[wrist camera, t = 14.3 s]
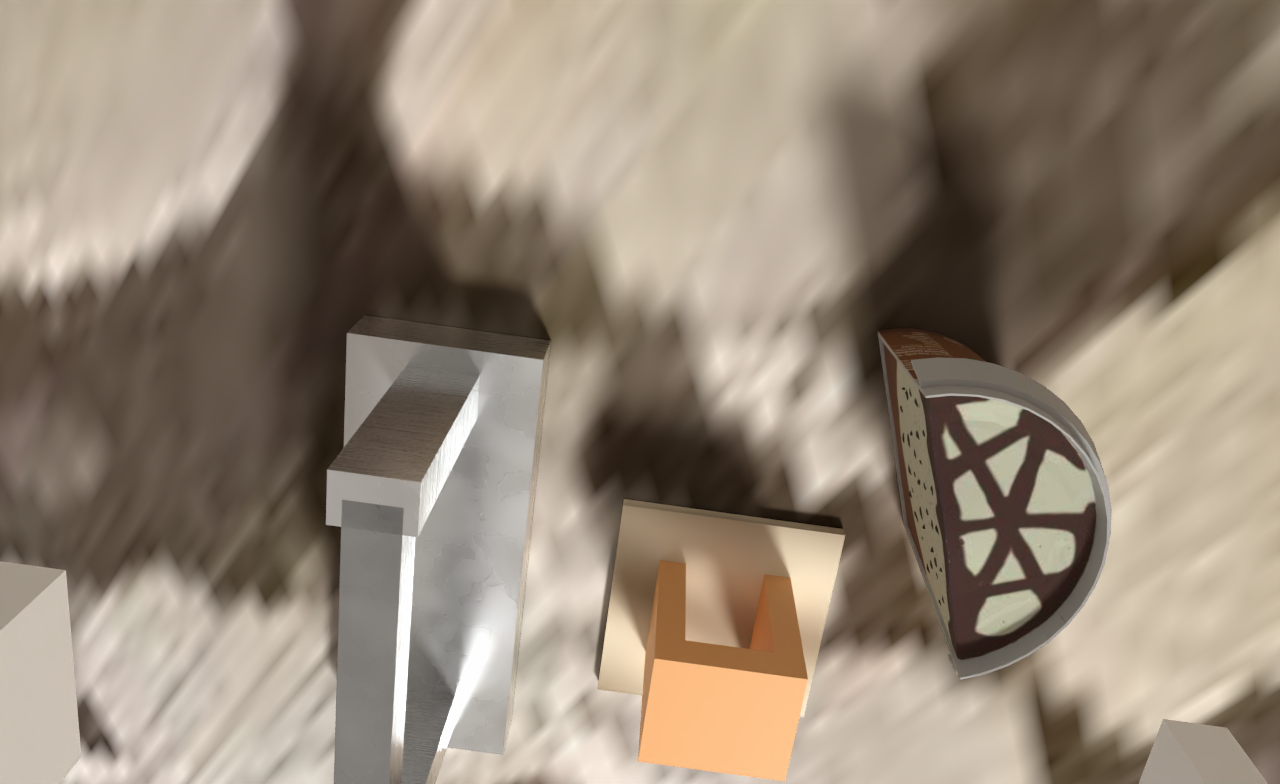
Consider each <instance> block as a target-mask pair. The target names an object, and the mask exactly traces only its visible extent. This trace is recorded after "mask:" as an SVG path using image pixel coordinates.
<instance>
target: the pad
mask: <svg viewBox="0 0 1280 784" xmlns="http://www.w3.org/2000/svg"><path fill="white" fill-rule="evenodd" d="M844 538H845V533H844V530H843V529H840V528H833V527H825V526H818V525H811V524H803V523H796V522H789V521H781V520H774V519H767V518H759V517H752V516H745V515H738V514H730V513H723V512H716V511H708V510H701V509H694V508H686V507H679V506H672V505H665V504H657V503H650V502H643V501H635V500H628V499H624V501H623V508H622V516H621V523H620V530H619V537H618V545H617V552H616V559H615V566H614V573H613V581H612V588H611V595H610V602H609V609H608V617H607V624H606V631H605V638H604V645H603V653H602V660H601V667H600V674H599V681H598V689H600V690H607V691H614V692H622V693H629V694H636V695H643V680H644V665H645V651H646V645H647V638H648V632H649V626H650V619H651V613H652V606H653V600H654V594H655V587H656V581H657V575H658V568H659V562H660V560H664V561H671V562H678V563H686V629H685V640H687V641H695V642H702V643H709V644H717V645H724V646H731V647H739V648H746V649H750V644H751V639H752V634H753V629H754V624H755V619H756V614H757V609H758V604H759V599H760V594H761V589H762V584H763V579H764V574H766V575H773V576H781V577H788V578H791V583H792V589H793V595H794V601H795V607H796V612H797V618H798V624H799V630H800V636H801V641H802V647H803V653H804V659H805V665H806V670H807V676H808V682H807V686H806V691H805V695H804V700H803V704H802V708H801V713H800V717H804V713H805V709H806V705H807V700H808V696H809V691H810V687H811V683H812V678H813V674H814V670H815V665H816V661H817V656H818V652H819V648H820V643H821V639H822V635H823V630H824V626H825V621H826V617H827V613H828V608H829V604H830V600H831V595H832V591H833V587H834V582H835V578H836V573H837V569H838V565H839V560H840V556H841V552H842V547H843V543H844Z"/></svg>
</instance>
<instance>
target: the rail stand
mask: <svg viewBox="0 0 1280 784" xmlns="http://www.w3.org/2000/svg"><path fill="white" fill-rule="evenodd" d="M550 346H551V341H550V340H543V339H535V338H528V337H521V336H514V335H506V334H499V333H492V332H485V331H477V330H470V329H463V328H455V327H448V326H441V325H434V324H426V323H419V322H412V321H405V320H397V319H390V318H383V317H375V316H368V315H365V316H364V317H363V318H361V319H360V320H359V321H358V322H357V323H356V324H355V325H354V326H353V327H352V328H351V329H350V330H349V331H348V332H347V347H346V382H345V418H344V448H343V449H342V451H341V452H340V453H339V455H338V456H337V457H336V459H335V460H334V461H333V462H332V464H331V465H330V466H329V468H328V469H327V498H326V525H331V526H338V527H341V551H340V587H339V622H338V657H337V693H336V728H335V763H334V784H435V783H436V779H437V776H438V773H439V770H440V767H441V764H442V761H443V758H444V755H445V752H446V748H447V747H449V748H456V749H463V750H471V751H478V752H485V753H493V754H500V755H503V754H504V750H505V746H506V741H507V737H508V733H509V729H510V725H511V721H512V712H513V703H514V693H515V683H516V674H517V664H518V655H519V645H520V635H521V626H522V616H523V606H524V597H525V587H526V577H527V568H528V558H529V549H530V539H531V529H532V520H533V510H534V500H535V491H536V481H537V471H538V462H539V452H540V443H541V433H542V423H543V414H544V404H545V394H546V385H547V375H548V366H549V356H550Z"/></svg>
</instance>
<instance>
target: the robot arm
mask: <svg viewBox="0 0 1280 784" xmlns="http://www.w3.org/2000/svg"><path fill="white" fill-rule="evenodd" d="M80 757H81V747H80V735H79V723H78V711H77V699H76V688H75V676H74V664H73V652H72V640H71V628H70V616H69V604H68V592H67V580H66V570H60V569H52V568H45V567H38V566H30V565H23V564H16V563H8V562H0V784H59V783H60V782H61V781H62V780H63V778H64V777H65V776H66V775H67V773H68V772H69V771H70V770H71V768H72V767H73V766H74V765H75V763H76V762H77V761H78V760H79V758H80ZM1139 784H1268V783H1267V782H1266V781H1265V779H1264V778H1263V776H1262V775H1261V774H1260V772H1259V771H1258V770H1257V768H1256V767H1255V765H1254V764H1253V763H1252V761H1251V760H1250V759H1249V757H1248V756H1247V755H1246V753H1245V752H1244V750H1243V749H1242V748H1241V746H1240V745H1239V744H1238V742H1237V741H1236V739H1235V738H1234V737H1233V735H1232V734H1231V733H1230V731H1229V730H1228V729H1227V728H1225V727H1217V726H1210V725H1202V724H1195V723H1188V722H1180V721H1173V720H1166V719H1163V721H1162V724H1161V726H1160V729H1159V732H1158V734H1157V737H1156V739H1155V742H1154V745H1153V747H1152V750H1151V753H1150V755H1149V758H1148V760H1147V763H1146V766H1145V768H1144V771H1143V773H1142V776H1141V779H1140V781H1139Z"/></svg>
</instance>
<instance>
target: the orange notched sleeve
mask: <svg viewBox="0 0 1280 784" xmlns="http://www.w3.org/2000/svg"><path fill="white" fill-rule="evenodd" d="M685 629H686V563H678V562H671V561H664V560H660V562H659V568H658V575H657V581H656V587H655V594H654V600H653V606H652V613H651V619H650V626H649V632H648V638H647V645H646V651H645V665H644V680H643V695H642V710H641V725H640V740H639V754H638V761H639V762H646V763H654V764H661V765H669V766H676V767H683V768H691V769H698V770H705V771H713V772H720V773H727V774H735V775H742V776H750V777H757V778H764V779H772V780H779V781H785V779H786V774H787V770H788V766H789V761H790V757H791V752H792V748H793V744H794V739H795V735H796V730H797V726H798V722H799V717H800V713H801V708H802V704H803V700H804V695H805V691H806V686H807V682H808V676H807V670H806V665H805V659H804V653H803V647H802V641H801V636H800V630H799V624H798V618H797V612H796V607H795V601H794V595H793V589H792V583H791V578H788V577H781V576H773V575H766V574H764V579H763V584H762V589H761V594H760V599H759V604H758V609H757V614H756V619H755V624H754V629H753V634H752V639H751V644H750V649H746V648H739V647H731V646H724V645H717V644H709V643H702V642H695V641H687V640H685Z"/></svg>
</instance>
